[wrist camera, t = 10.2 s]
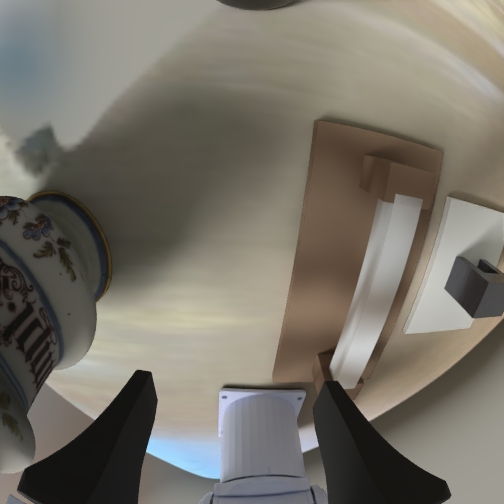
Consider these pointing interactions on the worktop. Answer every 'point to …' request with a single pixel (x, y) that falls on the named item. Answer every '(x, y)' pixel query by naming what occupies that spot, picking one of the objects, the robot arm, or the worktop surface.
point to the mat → (442, 259)
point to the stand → (354, 253)
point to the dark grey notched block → (477, 287)
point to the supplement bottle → (255, 4)
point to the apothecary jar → (43, 304)
